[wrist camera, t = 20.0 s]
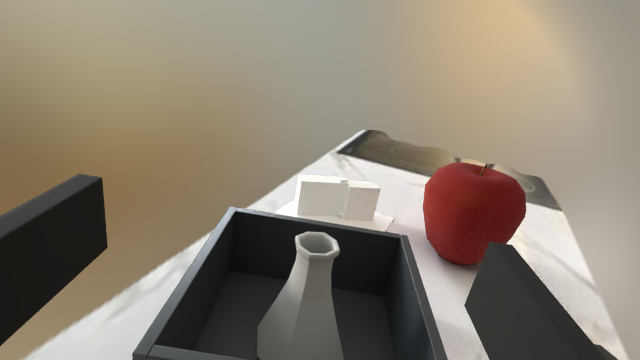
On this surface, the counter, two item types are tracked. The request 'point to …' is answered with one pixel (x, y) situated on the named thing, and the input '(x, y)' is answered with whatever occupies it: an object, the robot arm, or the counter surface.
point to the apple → (471, 210)
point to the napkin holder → (337, 202)
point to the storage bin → (269, 279)
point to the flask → (304, 307)
